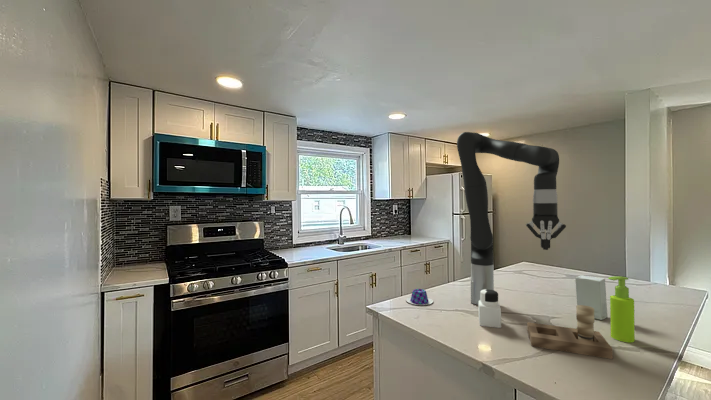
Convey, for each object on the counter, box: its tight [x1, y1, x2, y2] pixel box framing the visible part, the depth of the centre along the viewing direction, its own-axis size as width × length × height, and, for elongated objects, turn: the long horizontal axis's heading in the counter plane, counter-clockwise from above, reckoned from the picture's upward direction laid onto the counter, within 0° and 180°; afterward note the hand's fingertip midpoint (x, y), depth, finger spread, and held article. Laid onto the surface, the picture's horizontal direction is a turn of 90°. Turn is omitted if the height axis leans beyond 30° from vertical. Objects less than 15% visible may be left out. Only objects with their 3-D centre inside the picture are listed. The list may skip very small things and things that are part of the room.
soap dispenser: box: [607, 275, 636, 344], centre depth 99 cm, size 6×7×20 cm
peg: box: [575, 304, 595, 341], centre depth 94 cm, size 4×4×12 cm
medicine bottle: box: [477, 289, 502, 329], centre depth 112 cm, size 7×7×12 cm
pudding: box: [405, 288, 434, 306], centre depth 137 cm, size 12×12×5 cm
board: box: [526, 321, 614, 360], centre depth 96 cm, size 20×12×3 cm, turn 66°
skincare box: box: [574, 274, 608, 321], centre depth 119 cm, size 8×6×15 cm
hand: (545, 249), depth 112 cm, fingers closed
